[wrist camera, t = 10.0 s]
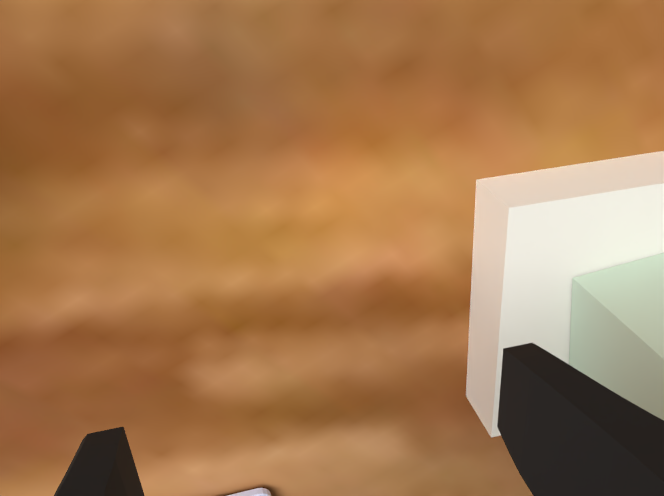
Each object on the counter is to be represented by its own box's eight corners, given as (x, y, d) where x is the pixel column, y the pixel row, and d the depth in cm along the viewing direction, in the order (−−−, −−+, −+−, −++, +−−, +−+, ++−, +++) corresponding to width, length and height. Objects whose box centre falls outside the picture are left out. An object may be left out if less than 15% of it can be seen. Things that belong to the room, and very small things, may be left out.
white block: (664, 346, 29) (713, 387, 27) (461, 388, 27) (491, 437, 25) (713, 138, 24) (778, 164, 22) (470, 174, 23) (508, 207, 20)
